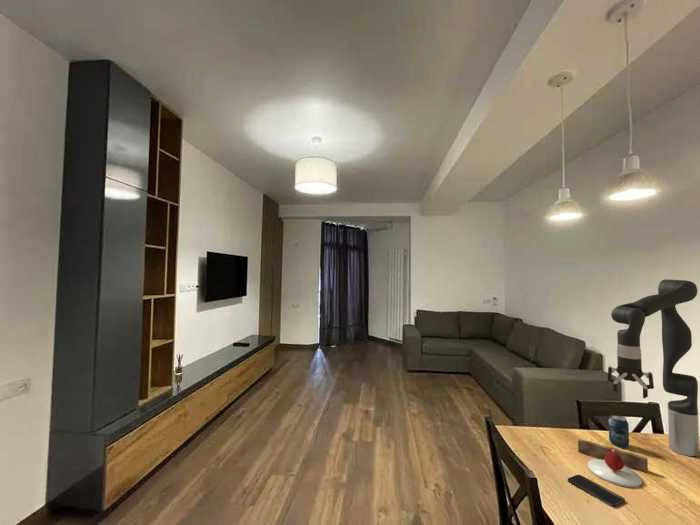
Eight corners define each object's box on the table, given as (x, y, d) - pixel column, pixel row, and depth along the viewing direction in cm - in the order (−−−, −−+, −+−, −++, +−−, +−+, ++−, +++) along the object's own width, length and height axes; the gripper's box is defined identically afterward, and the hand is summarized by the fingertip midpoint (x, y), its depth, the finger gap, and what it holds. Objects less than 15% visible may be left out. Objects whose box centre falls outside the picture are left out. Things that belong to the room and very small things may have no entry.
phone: (578, 474, 121) (626, 499, 107) (578, 477, 121) (626, 502, 107) (565, 479, 118) (613, 506, 104) (565, 482, 118) (613, 509, 104)
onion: (627, 476, 119) (627, 454, 120) (610, 474, 120) (609, 452, 121) (618, 467, 125) (617, 446, 125) (601, 465, 126) (601, 445, 126)
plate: (601, 458, 133) (601, 455, 133) (650, 480, 119) (650, 477, 119) (579, 467, 126) (578, 465, 126) (628, 492, 112) (628, 489, 112)
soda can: (612, 446, 142) (611, 419, 143) (606, 439, 149) (606, 413, 149) (632, 450, 140) (631, 422, 140) (625, 442, 146) (624, 416, 147)
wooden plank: (578, 452, 138) (578, 440, 138) (578, 450, 139) (578, 438, 139) (647, 472, 124) (647, 459, 124) (647, 470, 125) (647, 457, 125)
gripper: (606, 354, 133) (607, 393, 133) (653, 360, 124) (654, 402, 124) (607, 351, 139) (608, 388, 139) (652, 356, 130) (653, 396, 129)
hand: (630, 395), depth 131 cm, fingers open, 8 cm apart
